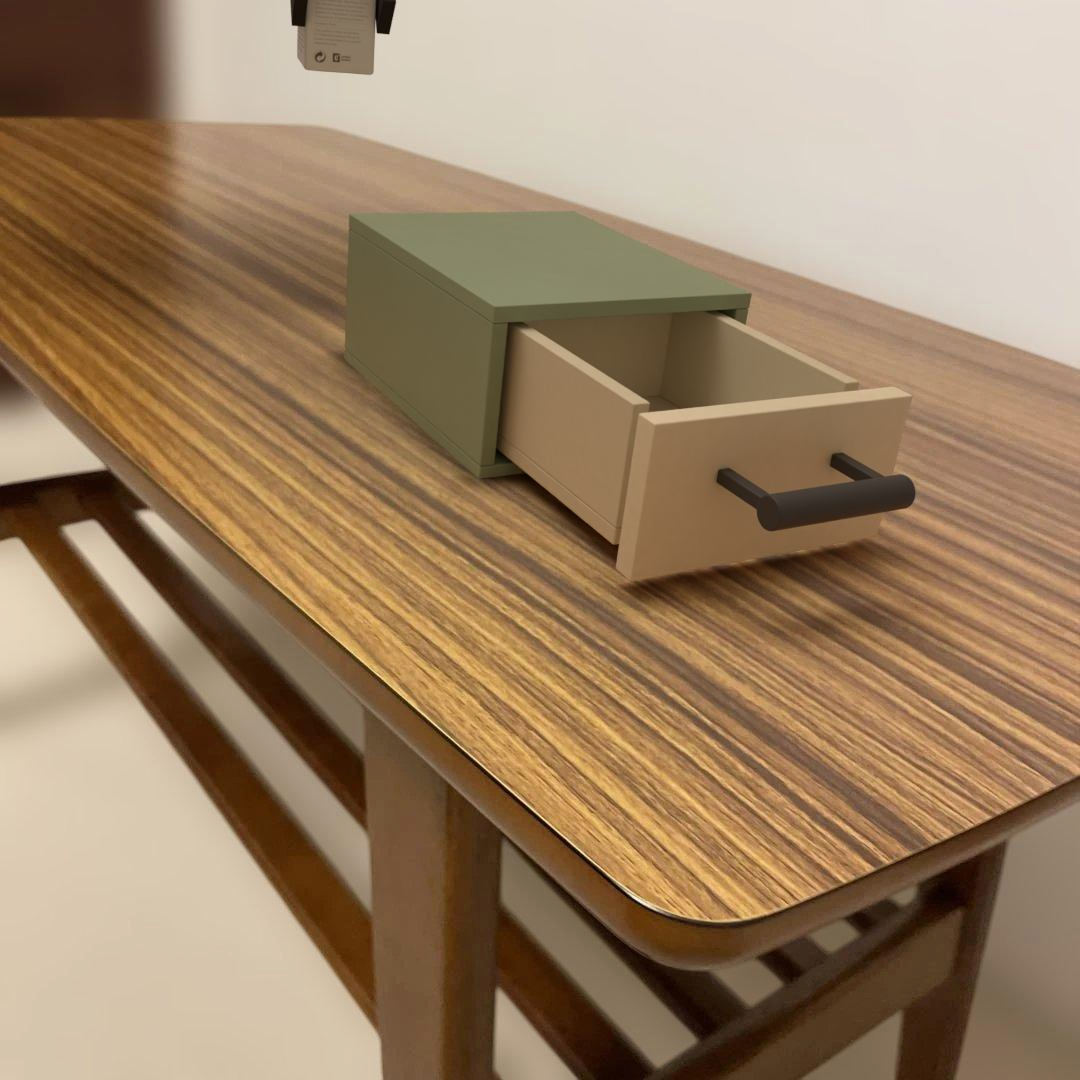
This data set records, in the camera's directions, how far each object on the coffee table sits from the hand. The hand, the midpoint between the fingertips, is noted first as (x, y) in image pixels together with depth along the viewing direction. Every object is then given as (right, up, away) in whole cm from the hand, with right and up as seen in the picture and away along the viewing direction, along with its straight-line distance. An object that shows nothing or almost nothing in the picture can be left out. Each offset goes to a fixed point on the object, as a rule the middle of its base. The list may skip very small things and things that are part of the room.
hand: (343, 13), depth 71 cm
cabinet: (+10, -23, -2) cm, 25 cm away
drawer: (+18, -28, -14) cm, 36 cm away
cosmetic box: (-1, -2, +5) cm, 5 cm away
